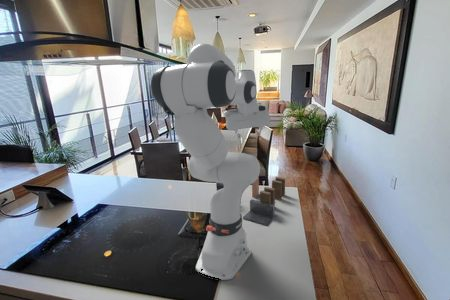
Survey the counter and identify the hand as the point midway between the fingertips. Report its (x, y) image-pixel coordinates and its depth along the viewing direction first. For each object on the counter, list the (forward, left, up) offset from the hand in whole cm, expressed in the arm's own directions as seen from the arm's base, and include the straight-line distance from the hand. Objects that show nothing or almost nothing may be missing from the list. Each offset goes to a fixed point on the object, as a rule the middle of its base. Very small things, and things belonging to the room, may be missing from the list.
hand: (248, 136), depth 112 cm
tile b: (+14, -11, -37) cm, 41 cm away
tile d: (+4, -9, -37) cm, 38 cm away
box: (+3, +15, -37) cm, 40 cm away
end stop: (-8, -6, -37) cm, 38 cm away
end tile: (+19, -12, -37) cm, 43 cm away
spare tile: (+14, +1, -37) cm, 40 cm away
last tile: (-1, -8, -37) cm, 38 cm away
